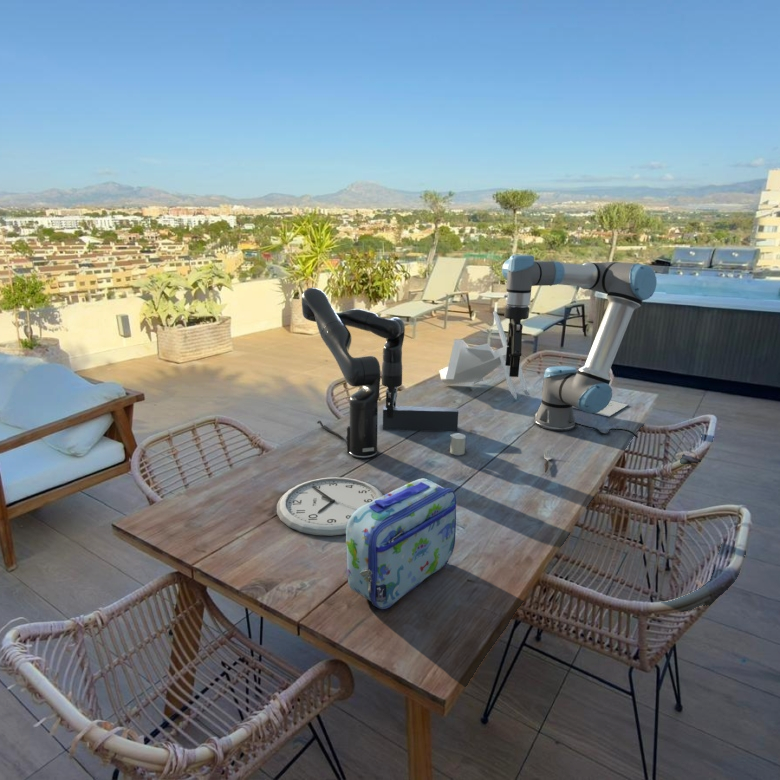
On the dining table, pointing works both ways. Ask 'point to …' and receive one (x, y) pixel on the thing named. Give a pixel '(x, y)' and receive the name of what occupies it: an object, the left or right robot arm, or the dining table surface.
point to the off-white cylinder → (457, 444)
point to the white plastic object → (479, 362)
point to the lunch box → (400, 540)
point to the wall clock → (324, 504)
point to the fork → (547, 459)
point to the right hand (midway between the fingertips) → (511, 370)
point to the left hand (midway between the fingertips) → (391, 413)
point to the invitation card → (611, 408)
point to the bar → (421, 419)
